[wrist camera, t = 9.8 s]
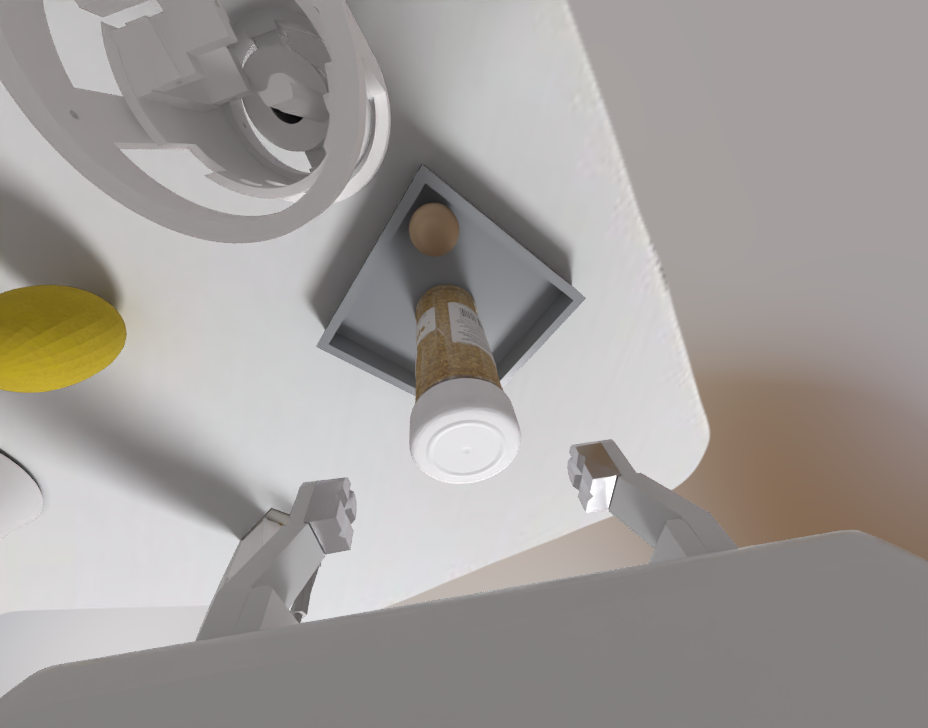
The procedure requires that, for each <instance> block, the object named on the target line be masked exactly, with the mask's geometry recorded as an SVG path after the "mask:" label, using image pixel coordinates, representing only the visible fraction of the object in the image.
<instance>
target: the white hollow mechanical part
mask: <svg viewBox="0 0 928 728" xmlns="http://www.w3.org/2000/svg"><path fill="white" fill-rule="evenodd" d="M75 1H76V3H77V4H78V6H79V8H82V9H84V10H87V11H89V12H91V13H94V14H96V15H99V16H101V17H105V16H108V15H110V14H113V13H115V12H118V11H121V10H123V9H126V8H129V7H131V6H134V5H136V4H139V3H142V2H144V1H147V0H75ZM157 1H158V3H159V4H160V6H161V8H162V10H163V12H161V13H159V14H156V15H153V16H151V17H148V16H143V17H141V18H138V19H136V20H133V21H130V22H128V23H125V24H126V26H124V27H122V28H119V29H118V28H116V27H113V26H111V25H108V24H106V23H103V22H101V29H102V36H103V41H104V46H105V50H106V54H107V57H108V60H109V64H110V67H111V69H112V72H113V75H114V77H115V80H116V82H117V84H118V86H119V89H120V91H121V93H122V95H123V96H117V95H112V94H106V93H101V92H95V91H90V90H84V89H79V88H74V87H73V85H72V83H71V82H70V80H69V78H68V76H67V74H66V72H65V70H64V67H63V65H62V63H61V61H60V58H59V56H58V53H57V51H56V48H55V46H54V43H53V40H52V37H51V34H50V30H49V27H48V23H47V19H46V15H45V11H44V6H43V0H0V80H1V82H2V83H3V85H4V86H5V88H6V89H7V91H8V92H9V94H10V95H11V96H12V98H13V99H14V101H15V102H16V103H17V105H18V106H19V107H20V109H21V110H22V111H23V113H24V114H25V115H26V117H27V118H28V119H29V120H30V122H31V123H32V124H33V125H34V126H35V128H36V129H37V130H38V131H39V132H40V133H41V135H42V136H43V137H44V138H45V139H46V140H47V141H48V142H49V143H50V144H51V145H52V147H53V148H54V149H55V150H56V151H57V152H58V153H59V154H60V155H61V156H62V157H63V158H64V159H65V160H66V161H67V162H69V163H70V164H71V165H72V166H73V167H74V168H75V169H76V170H77V171H78V172H80V173H81V174H82V175H83V176H84V177H85V178H87V179H88V180H89V181H90V182H92V183H93V184H94V185H95V186H97V187H98V188H99V189H101V190H102V191H103V192H105V193H106V194H107V195H109V196H110V197H112V198H113V199H115V200H116V201H118V202H119V203H121V204H122V205H124V206H125V207H127V208H129V209H130V210H132V211H134V212H135V213H137V214H139V215H141V216H143V217H145V218H147V219H149V220H151V221H153V222H155V223H157V224H159V225H161V226H164V227H166V228H169V229H171V230H174V231H176V232H179V233H182V234H185V235H189V236H192V237H196V238H200V239H204V240H210V241H216V242H224V243H252V242H260V241H265V240H270V239H273V238H277V237H280V236H283V235H285V234H288V233H290V232H292V231H294V230H296V229H298V228H299V227H301V226H303V225H304V224H306V223H308V222H309V221H311V220H313V219H314V218H316V217H317V216H319V215H320V214H321V213H323V212H324V211H325V210H326V209H327V208H328V207H329V206H330V205H331V204H332V203H336V202H339V201H342V200H344V199H346V198H348V197H350V196H352V195H353V194H355V193H356V192H358V191H359V190H361V189H362V188H363V187H364V186H366V185H367V184H368V183H369V182H370V180H371V179H372V178H373V177H374V175H375V174H376V172H377V171H378V169H379V167H380V166H381V164H382V161H383V159H384V156H385V154H386V150H387V147H388V142H389V136H390V125H391V116H390V104H389V98H388V93H387V88H386V84H385V81H384V78H383V75H382V72H381V70H380V67H379V65H378V62H377V60H376V58H375V56H374V54H373V52H372V50H371V48H370V47H369V45H368V43H367V41H366V39H365V38H364V36H363V34H362V32H361V30H360V28H359V26H358V24H357V22H356V20H355V18H354V16H353V15H352V13H351V11H350V9H349V7H348V5H347V3H346V1H345V0H157ZM285 29H291V30H297V31H301V32H304V33H307V34H309V35H311V36H313V37H315V38H317V39H318V40H320V41H321V42H323V43H324V45H325V47H326V49H327V52H328V54H329V57H330V59H331V62H328V63H325V64H324V67H325V71H326V75H325V74H324V73H323V72H321V71H320V70H319V69H318V68H316V67H315V66H314V65H312V64H311V63H310V62H309V61H307V60H306V59H305V58H304V57H302V56H301V55H299V54H298V53H296V52H295V51H293V50H292V49H291V48H290V46H289V44H288V43H287V41H286V40H285V38H286V37H288V36H287V34H286V31H285ZM254 42H255V44H256V46H257V48H258V50H256V51H255V52H254V53H253V54H251V55H250V57H249V58H248V59H247V61H246V63H245V65H244V67H243V68H242V63H243V60H244V57H245V55H246V53H247V51H248V50H249V48H250V47H251V45H252V44H253V43H254ZM241 99H242V100H243V103H244V106H245V109H246V112H247V114H248V116H249V118H250V119H251V121H252V123H253V124H254V126H255V127H256V128H257V129H258V131H259V132H260V133H261V134H262V135H263V136H264V137H265V138H266V139H268V140H269V141H270V142H272V143H273V144H275V145H276V146H278V147H280V148H283V149H286V150H289V151H305V153H306V156H307V158H308V160H309V162H310V164H311V167H312V168H311V169H309V170H310V172H311V173H306V172H302V171H298V170H296V169H293V168H291V167H289V166H287V165H285V164H284V163H282V162H281V161H279V160H278V159H277V158H275V157H274V156H273V155H272V154H271V153H270V152H269V151H268V150H267V149H266V148H265V147H264V146H263V145H262V143H261V142H260V141H259V139H258V138H257V137H256V135H255V133H254V132H253V130H252V128H251V126H250V124H249V122H248V120H247V118H246V115H245V112H244V109H243V106H242V101H241ZM374 101H375V110H376V127H375V135H374V140H373V145H372V148H371V151H370V153H369V156H368V158H367V160H366V162H365V164H364V165H363V167H362V168H361V170H360V171H359V172H358V173H357V174H356V175H355V176H354V177H353V178H352V179H351V180H350V178H351V176H352V174H353V172H354V169H355V168H356V167H357V166H358V164H359V163H360V162H361V160H362V159H363V157H364V155H365V153H366V151H367V148H368V145H369V142H370V138H371V132H372V108H371V102H374ZM120 149H189V150H190V151H191V152H192V153H193V154H194V155H195V156H196V157H197V158H198V159H199V160H200V161H201V162H202V163H204V164H205V165H206V166H207V167H208V168H210V169H211V170H212V171H214V172H213V173H210V174H207V175H204V176H206V177H207V178H209V179H210V180H212V181H214V182H216V183H217V184H219V185H221V186H223V187H225V188H228V189H230V190H232V191H235V192H238V193H241V194H244V195H248V196H252V197H258V198H281V199H283V200H286V201H289V202H293V203H294V204H293V205H292V206H290V207H289V208H287V209H285V210H284V211H282V212H278V213H274V214H270V215H263V216H240V215H232V214H227V213H222V212H218V211H214V210H211V209H208V208H205V207H203V206H200V205H197V204H195V203H193V202H191V201H189V200H186V199H184V198H183V197H181V196H179V195H177V194H175V193H173V192H172V191H170V190H168V189H167V188H165V187H164V186H162V185H161V184H159V183H158V182H156V181H155V180H154V179H152V178H151V177H150V176H148V175H147V174H146V173H145V172H143V171H142V170H141V169H140V168H139V167H137V166H136V165H135V164H134V163H133V162H132V161H131V160H130V159H129V158H128V157H127V156H126V155H124V154H123V153H122V151H121V150H120ZM313 167H314V168H313ZM349 180H350V181H349Z"/></svg>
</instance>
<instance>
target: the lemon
mask: <svg viewBox="0 0 928 728" xmlns="http://www.w3.org/2000/svg"><path fill="white" fill-rule="evenodd" d="M126 335H127V333H126V327H125V323H124V321H123V319H122V317H121V315H120V314H119V313H118V311H117V310H116V309H115V308H114V307H113V306H112V305H111V304H110V303H108V302H107V301H105V300H104V299H102V298H101V297H99V296H97V295H95V294H92V293H90V292H88V291H85V290H81V289H78V288H74V287H69V286H59V285H38V286H30V287H23V288H18V289H13V290H10V291H6V292H4V293H1V294H0V389H1V390H6V391H13V392H24V393H32V392H46V391H51V390H56V389H60V388H64V387H67V386H70V385H73V384H76V383H79V382H81V381H83V380H85V379H87V378H89V377H91V376H93V375H95V374H96V373H98V372H100V371H101V370H103V369H104V368H106V367H107V366H108V365H110V364H111V363H112V362H113V361H114V360H115V359H116V357H117V356H118V355H119V353H120V352H121V350H122V349H123V347H124V345H125V340H126Z"/></svg>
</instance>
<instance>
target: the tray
mask: <svg viewBox="0 0 928 728" xmlns="http://www.w3.org/2000/svg"><path fill="white" fill-rule="evenodd" d="M432 202H434V203H440V204H443V205H445V206H447V207H448V208H449V209H450V210H451V211H452V212H453V213H454V214H455V216H456V218H457V220H458V223H459V238H458V241H457V243H456V245H455V246H454V248H453V249H452V250H451V251H450V252H448V253H447V254H445V255H442V256H438V257H432V256H428V255H425V254H423V253H421V252H420V251H419V250H418V249H417V248H416V247H415V246H414V245H413V243H412V241H411V239H410V235H409V223H410V219H411V217H412V215H413V213H414V212H415V211H416V210H417V209H418V208H419V207H420V206H422V205H424V204H426V203H432ZM438 285H454V286H457V287H460V288H462V289H463V290H465V291H467V292H468V293H469V294H470V296H471V297H472V298H473V300H474V302H475V304H476V307H477V313H478V315H477V316H478V317H479V319H480V321H481V324H482V327H483V330H484V332H485V335H486V338H487V341H488V344H489V347H490V350H491V353H492V356H493V358H494V361H495V364H496V368H497V374H498V377H499V380H500V383H501V386H502V388H503V387H504V386H505V385H506V384H507V383H508V382H509V380H510V379H511V378H512V377H513V376H514V375H515V374H516V373H517V372H518V371H519V370H520V369H521V368H522V366H523V365H524V364H525V363H526V362H527V361H528V360H529V359H530V358H531V357H532V356H533V355H534V354H535V352H536V351H537V350H538V349H539V348H540V347H541V346H542V345H543V344H544V343H545V342H546V341H547V340H548V338H549V337H550V336H551V335H552V334H553V333H554V332H555V331H556V330H557V329H558V328H559V327H560V326H561V324H562V323H563V322H564V321H565V320H566V319H567V318H568V317H569V316H570V315H571V314H572V313H573V312H574V310H575V309H576V308H577V307H578V306H579V305H580V304H581V303H582V302H583V301H584V300H585V299H586V298H585V297H584V296H583V295H582V294H581V293H579V292H578V291H577V290H576V289H575V288H574V287H573V286H572V285H570V284H569V283H568V282H567V281H566V280H564V279H563V278H562V277H561V276H559V275H558V274H557V273H556V272H555V271H553V270H552V269H551V268H550V267H548V266H547V265H546V264H545V263H543V262H542V261H541V260H540V259H539V258H537V257H536V256H535V255H534V254H532V253H531V252H530V251H529V250H527V249H526V248H525V247H524V246H523V245H521V244H520V243H519V242H518V241H516V240H515V239H514V238H513V237H512V236H510V235H509V234H508V233H507V232H505V231H504V230H503V229H502V228H500V227H499V226H498V225H497V224H496V223H494V222H493V221H492V220H491V219H489V218H488V217H487V216H486V215H485V214H483V213H482V212H481V211H480V210H478V209H477V208H476V207H475V206H473V205H472V204H471V203H470V202H469V201H467V200H466V199H465V198H464V197H462V196H461V195H460V194H459V193H457V192H456V191H455V190H454V189H453V188H451V187H450V186H449V185H448V184H446V183H445V182H444V181H443V180H442V179H440V178H439V177H438V176H437V175H435V174H434V173H433V172H432V171H430V170H429V169H428V168H427V167H426V166H424V165H423V164H422V165H421V167H420V169H419V170H418V172H417V174H416V175H415V177H414V179H413V181H412V182H411V184H410V186H409V187H408V189H407V191H406V193H405V194H404V196H403V198H402V199H401V201H400V203H399V205H398V206H397V208H396V210H395V211H394V213H393V215H392V217H391V218H390V220H389V222H388V223H387V225H386V227H385V229H384V230H383V232H382V234H381V235H380V237H379V239H378V241H377V242H376V244H375V246H374V247H373V249H372V251H371V253H370V254H369V256H368V258H367V259H366V261H365V263H364V265H363V266H362V268H361V270H360V271H359V273H358V275H357V277H356V278H355V280H354V282H353V283H352V285H351V287H350V289H349V290H348V292H347V294H346V295H345V297H344V299H343V301H342V302H341V304H340V306H339V307H338V309H337V311H336V313H335V314H334V316H333V318H332V319H331V321H330V323H329V325H328V326H327V328H326V330H325V331H324V333H323V335H322V337H321V339H320V341H319V342H318V344H317V346H316V347H318V348H320V349H322V350H324V351H326V352H328V353H330V354H332V355H334V356H336V357H338V358H340V359H342V360H344V361H346V362H348V363H350V364H352V365H354V366H356V367H358V368H360V369H362V370H364V371H366V372H368V373H370V374H372V375H374V376H376V377H378V378H380V379H382V380H384V381H386V382H388V383H390V384H392V385H394V386H396V387H398V388H400V389H402V390H405V391H407V392H409V393H411V394H413V395H415V396H416V391H415V390H416V377H415V355H416V328H417V322H416V319H415V312H416V306H417V304H418V301H419V300H420V298H421V297H422V296H423V295H424V294H425V293H426V292H427V291H428V290H430V289H431V288H433V287H435V286H438Z"/></svg>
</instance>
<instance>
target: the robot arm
mask: <svg viewBox="0 0 928 728" xmlns="http://www.w3.org/2000/svg"><path fill="white" fill-rule="evenodd" d="M569 453H570V455H571V458H570V459H569V460H568V467H567V468H568V475H569V478H570V481H571V483H572V485H573V487H575V488H576V489H578V490H579V494H578V498H579V500H580V502H581V504H582V506H583V508H584V510H585V512H586V513H587V512H595V511H603V510H609V512H611V513H612V514H613V515H614V516H616V517H617V518H618V519H619V520H620V521H621V522H623V523H624V524H625V525H626V526H627V527H629V528H630V529H631V530H632V531H633V532H635V533H636V534H637V535H638V536H639V537H641V538H642V539H643V540H644V541H645V542H647V543H648V544H649V545H650V546H651V547H653V548H654V551H653V554H652V556H651V559H650V561H649V563H648V564H644V565H638V566H633V567H626V568H620V569H615V570H609V571H603V572H597V573H591V574H586V575H580V576H574V577H568V578H562V579H556V580H551V581H545V582H539V583H533V584H527V585H521V586H515V587H509V588H504V589H497V590H492V591H486V592H480V593H475V594H468V595H463V596H457V597H452V598H445V599H439V600H434V601H428V602H422V603H416V604H411V605H404V606H399V607H393V608H387V609H381V610H375V611H369V612H364V613H358V614H352V615H346V616H340V617H335V618H329V619H323V620H317V621H311V622H305V623H300V624H299V623H298V622H297V620H296V619H295V618H294V616H293V615H292V614H291V612H290V611H289V610H288V609H289V608H290V606H291V605H292V603H293V602H294V600H295V599H296V598H297V596H298V595H299V593H300V592H301V590H302V589H303V587H304V586H305V585H306V583H307V582H308V580H309V579H310V577H311V576H312V574H313V573H314V571H315V570H316V569H317V567H318V566H319V564H320V563H321V561H322V560H323V558H324V557H325V554H330V553H336V552H341V551H346V550H350V549H351V543H352V537H353V529H352V526H351V524H352V522H353V521H354V520H355V518H356V497H355V494H354V492H353V491H351V490H350V485H351V483H350V481H349V479H348V478H338V479H329V480H321V481H313V482H305V483H303V484H302V485H301V486H300V488H299V491H298V494H297V497H296V500H295V503H294V506H293V508H292V511H291V514H290V517H289V520H288V523H287V526H284V527H281V528H280V529H279V530H278V531H277V532H276V533H275V534H274V535H273V536H272V537H271V538H270V539H269V541H268V542H267V543H266V544H265V545H264V546H263V547H262V548H261V549H260V550H259V551H258V552H257V553H256V554H255V555H254V556H253V557H252V558H251V559H250V560H249V561H248V562H247V563H246V564H245V565H244V566H243V567H242V568H241V569H240V570H239V571H238V572H237V573H236V574H235V575H234V576H233V577H232V578H231V579H230V580H229V581H228V582H227V583H226V584H225V585H224V586H223V587H222V588H221V589H220V590H219V591H218V593H217V595H216V598H215V600H214V602H213V604H212V606H211V609H210V611H209V613H208V615H207V618H206V620H205V622H204V624H203V627H202V629H201V631H200V633H199V635H198V638H197V640H196V641H195V642H188V643H183V644H177V645H171V646H165V647H159V648H153V649H147V650H141V651H135V652H130V653H124V654H118V655H112V656H106V657H101V658H94V659H88V660H82V661H76V662H70V663H64V664H59V665H54V666H50V667H47V668H44V669H42V670H39V671H37V672H36V673H34V674H33V675H31V676H29V677H28V678H26V679H25V680H24V681H22V682H21V683H19V684H18V685H17V686H15V687H14V688H12V689H11V690H10V691H9V692H7V693H6V694H5V695H3V696H2V697H1V698H0V728H928V561H927V560H925V559H923V558H921V557H919V556H917V555H915V554H913V553H910V552H908V551H906V550H904V549H902V548H900V547H897V546H895V545H893V544H891V543H889V542H887V541H884V540H882V539H880V538H877V537H875V536H872V535H870V534H867V533H865V532H862V531H858V530H842V531H836V532H830V533H824V534H819V535H813V536H807V537H802V538H795V539H789V540H783V541H778V542H772V543H766V544H761V545H755V546H749V547H743V548H738V547H737V546H736V544H735V543H734V542H733V541H732V540H731V538H730V537H729V536H728V535H727V533H726V532H725V531H724V530H723V529H722V527H721V526H720V525H719V524H718V523H717V521H716V520H715V519H714V518H713V516H712V515H711V514H710V513H709V512H707V511H706V510H704V509H702V508H700V507H699V506H697V505H695V504H694V503H692V502H690V501H688V500H687V499H685V498H683V497H681V496H680V495H678V494H676V493H675V492H673V491H671V490H669V489H668V488H666V487H664V486H662V485H661V484H659V483H657V482H656V481H654V480H652V479H650V478H649V477H647V476H645V475H643V474H642V473H636V472H635V470H634V469H633V467H632V466H631V464H630V463H629V462H628V460H627V459H626V457H625V456H624V455H623V453H622V452H621V450H620V449H619V448H618V446H617V445H616V443H615V442H614V441H613V440H611V439H610V440H603V441H598V442H597V441H595V442H589V443H582V444H576V445H572V446H571V447H570V452H569ZM42 508H43V497H42V494H41V491H40V489H39V488H38V486H37V484H36V483H35V482H34V480H33V479H32V478H31V477H30V476H29V475H28V474H27V473H26V472H25V471H24V470H23V469H22V468H21V467H19V466H18V465H17V464H15V463H14V462H13V461H11V460H10V459H9V458H7V457H5V456H4V455H2V454H1V453H0V540H2V539H3V538H5V537H6V536H8V535H10V534H11V533H13V532H14V531H16V530H18V529H19V528H21V527H23V526H24V525H26V524H28V523H30V522H31V521H33V520H34V519H35V518H37V517H38V515H39V514H40V513H41V511H42Z"/></svg>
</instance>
